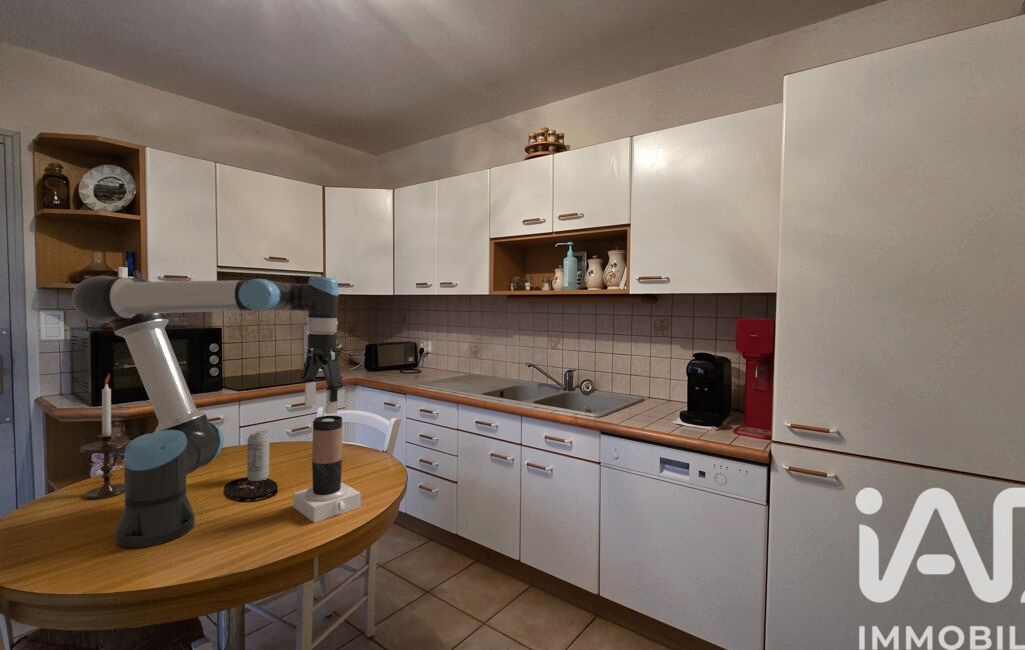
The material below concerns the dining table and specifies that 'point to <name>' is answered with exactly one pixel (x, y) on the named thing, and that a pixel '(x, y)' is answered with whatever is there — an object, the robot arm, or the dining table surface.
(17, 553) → the dining table surface
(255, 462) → the energy drink can
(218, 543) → the dining table surface
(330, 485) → the travel mug
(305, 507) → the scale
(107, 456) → the candlestick
